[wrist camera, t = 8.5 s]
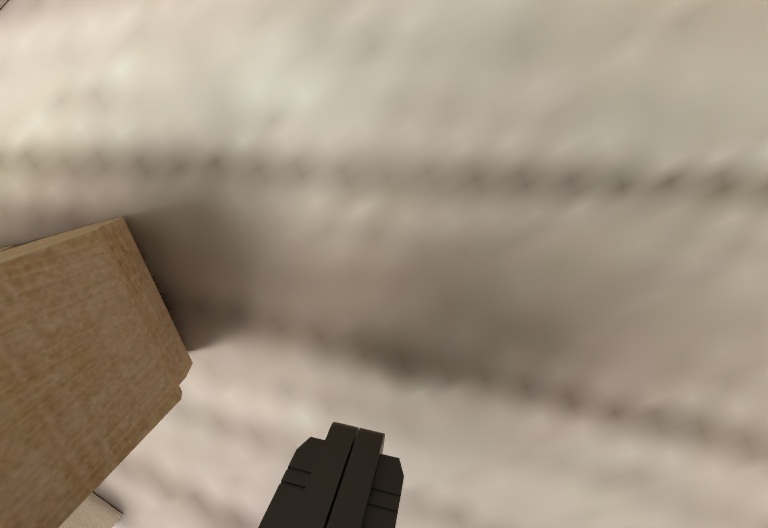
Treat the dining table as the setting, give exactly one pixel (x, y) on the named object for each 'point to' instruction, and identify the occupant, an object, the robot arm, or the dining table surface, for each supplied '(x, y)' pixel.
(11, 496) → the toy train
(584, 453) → the dining table surface
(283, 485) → the robot arm
